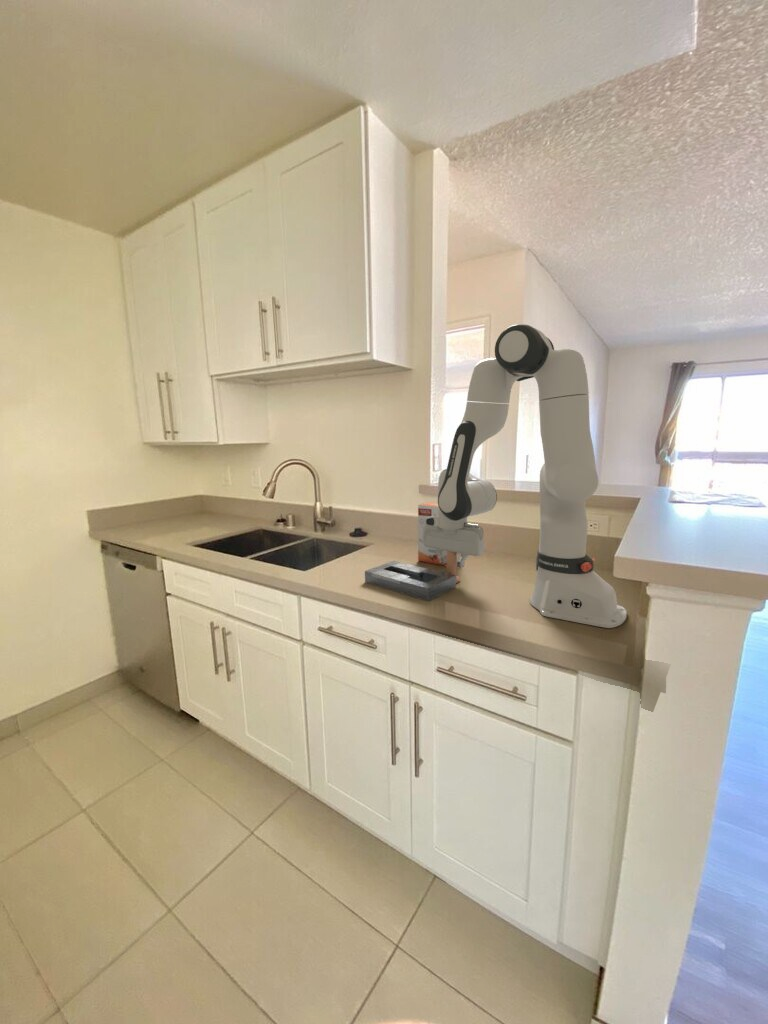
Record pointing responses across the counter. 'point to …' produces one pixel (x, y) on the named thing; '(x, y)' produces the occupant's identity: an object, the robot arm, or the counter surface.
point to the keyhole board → (411, 580)
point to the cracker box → (423, 552)
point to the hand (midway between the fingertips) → (451, 564)
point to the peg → (452, 564)
